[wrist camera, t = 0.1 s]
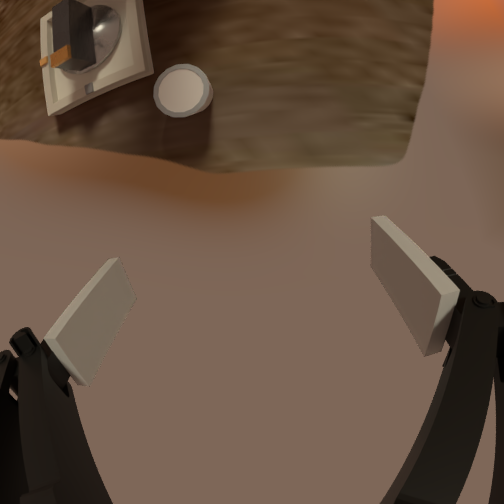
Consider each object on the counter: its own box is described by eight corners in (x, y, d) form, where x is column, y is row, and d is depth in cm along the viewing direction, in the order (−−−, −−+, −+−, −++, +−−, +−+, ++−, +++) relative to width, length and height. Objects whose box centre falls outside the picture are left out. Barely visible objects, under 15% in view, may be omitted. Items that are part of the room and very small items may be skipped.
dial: (57, 28, 25) (27, 20, 18) (118, -6, 24) (93, -23, 17) (62, 86, 30) (29, 85, 23) (125, 54, 29) (97, 44, 22)
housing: (51, 21, 26) (38, 18, 22) (140, -25, 24) (130, -34, 20) (60, 114, 34) (46, 116, 31) (154, 73, 33) (143, 69, 29)
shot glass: (160, 102, 35) (142, 100, 28) (188, 64, 32) (175, 54, 26) (198, 126, 36) (186, 128, 30) (227, 88, 34) (221, 81, 28)
